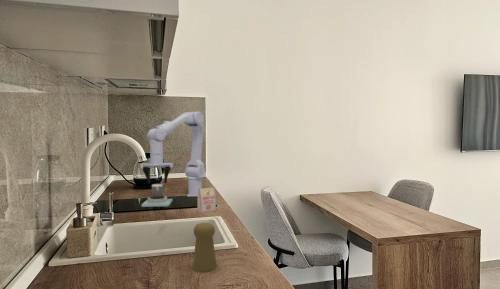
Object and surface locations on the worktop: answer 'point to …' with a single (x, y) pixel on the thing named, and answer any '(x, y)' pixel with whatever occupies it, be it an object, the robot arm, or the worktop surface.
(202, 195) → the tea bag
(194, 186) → the robot arm
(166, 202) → the plate
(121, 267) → the worktop surface
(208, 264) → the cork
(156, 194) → the lens barrel
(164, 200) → the collar mount
